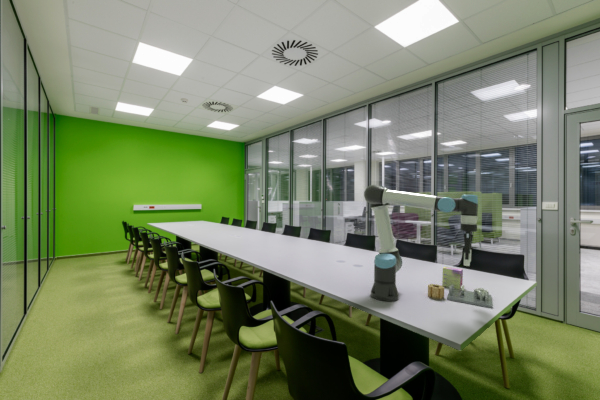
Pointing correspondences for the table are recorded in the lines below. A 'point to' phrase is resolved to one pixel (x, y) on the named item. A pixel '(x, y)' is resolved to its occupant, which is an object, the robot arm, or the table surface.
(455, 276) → the box
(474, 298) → the carrier
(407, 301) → the table surface
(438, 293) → the gear
